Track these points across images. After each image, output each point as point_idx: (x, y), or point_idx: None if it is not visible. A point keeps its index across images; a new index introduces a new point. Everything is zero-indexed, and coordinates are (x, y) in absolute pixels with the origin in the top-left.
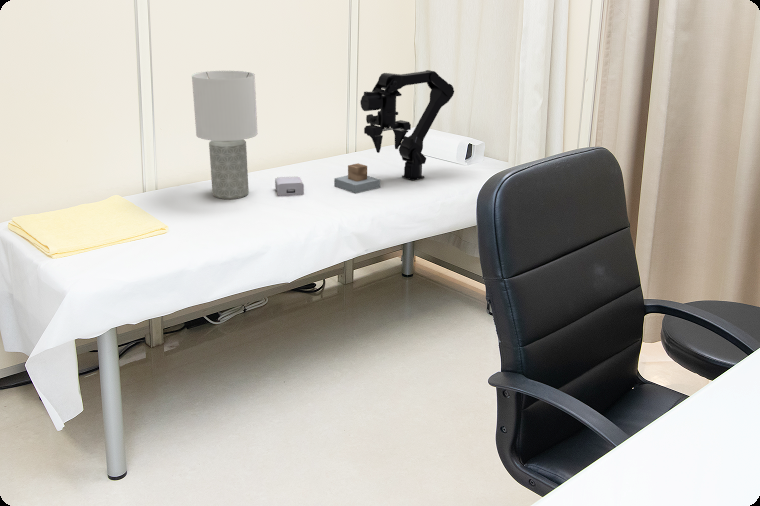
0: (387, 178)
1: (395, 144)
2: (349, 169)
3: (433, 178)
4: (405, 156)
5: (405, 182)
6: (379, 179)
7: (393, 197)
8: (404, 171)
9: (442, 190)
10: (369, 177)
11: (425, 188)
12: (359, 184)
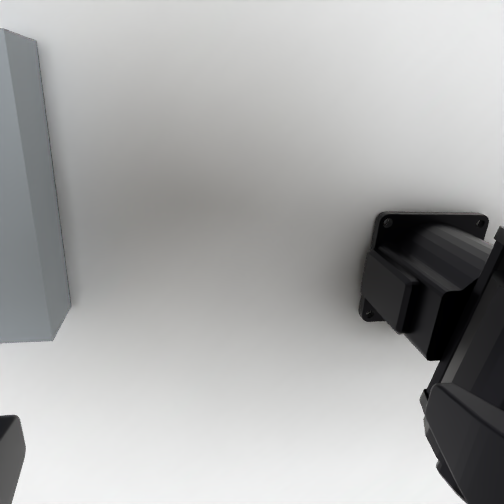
0: (284, 164)
1: (485, 444)
2: None
3: None
4: (448, 374)
5: (297, 313)
6: (48, 335)
7: None
8: (385, 271)
9: (315, 501)
10: (4, 240)
11: (283, 448)
12: None
